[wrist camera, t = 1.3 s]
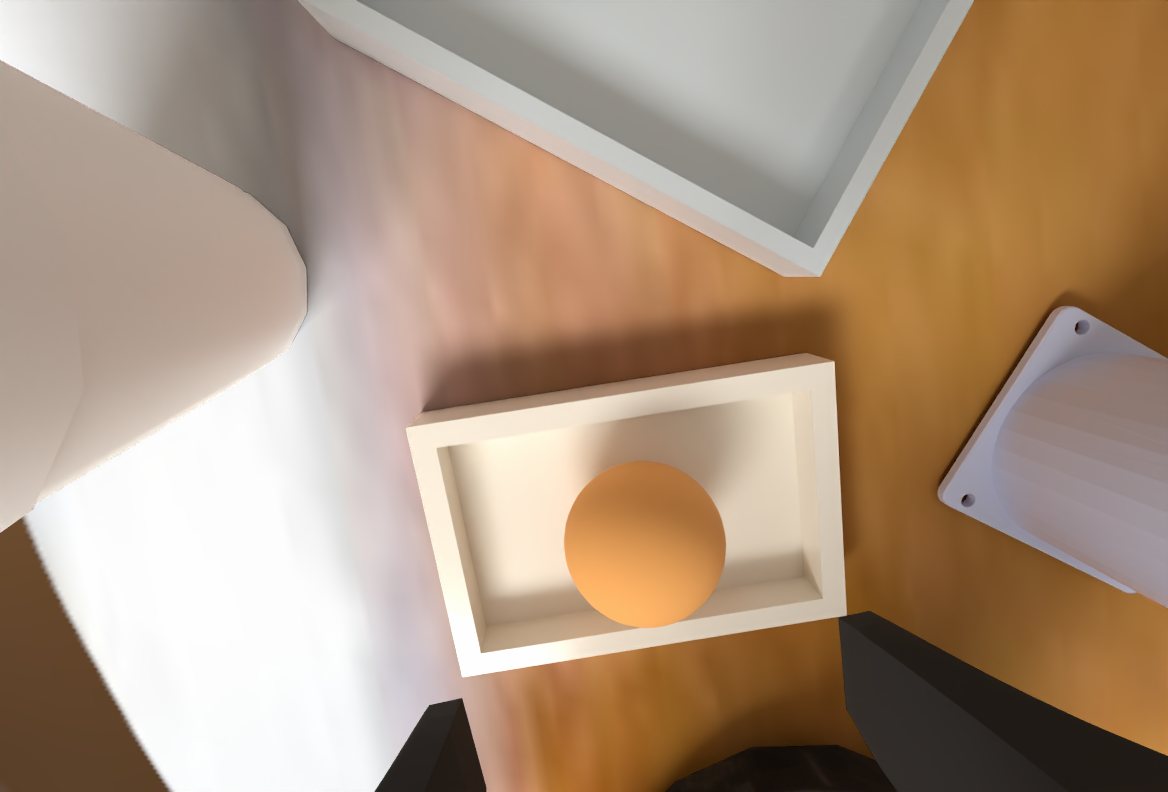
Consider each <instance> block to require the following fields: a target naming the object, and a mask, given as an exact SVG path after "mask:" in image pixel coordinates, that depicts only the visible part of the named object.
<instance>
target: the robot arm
mask: <svg viewBox="0 0 1168 792" xmlns="http://www.w3.org/2000/svg"><path fill="white" fill-rule="evenodd" d="M1078 322H1079V327H1078V330H1077V331H1076V332H1075V325H1076V324H1077V323H1078ZM966 494H967V495H968V496H967V498H966V500H965V501H964V502H961V500H962V497H963V496H964V495H966ZM938 498H939V500H940V501H941V502H943V503H944V504H946V505H948V506H950V507H952V508H954V509H956V510H958V511H960V512H962V513H964V514H966V515H968V516H970V517H972V518H974V519H976V520H978V521H980V522H982V523H984V524H986V525H989V526H991V527H993V528H995V529H997V530H999V531H1001V532H1003V533H1005V534H1007V535H1009V536H1011V537H1013V538H1015V539H1017V540H1019V541H1021V542H1023V543H1025V544H1028V545H1030V546H1032V547H1034V548H1036V549H1038V550H1040V551H1042V552H1044V553H1046V554H1048V555H1050V556H1052V557H1054V558H1056V559H1058V560H1060V561H1062V562H1064V563H1067V564H1069V565H1071V566H1073V567H1075V568H1077V569H1079V570H1081V571H1083V572H1085V573H1087V574H1089V575H1091V576H1093V577H1095V578H1097V579H1099V580H1101V581H1103V582H1106V583H1108V584H1110V585H1112V586H1114V587H1116V588H1118V589H1120V590H1122V591H1124V592H1126V593H1130V594H1131V593H1137V592H1138V593H1140V594H1142V595H1143V596H1145V597H1147V598H1149V599H1151V600H1153V601H1154V602H1156V603H1158V604H1160V605H1162V606H1164V607H1166V608H1167V609H1168V358H1166V357H1164V356H1162V355H1160V354H1159V353H1157V352H1155V351H1153V350H1152V349H1150V348H1148V347H1146V346H1145V345H1143V344H1141V343H1139V342H1138V341H1136V340H1134V339H1132V338H1131V337H1129V336H1127V335H1125V334H1124V333H1122V332H1120V331H1118V330H1117V329H1115V328H1113V327H1111V326H1109V325H1108V324H1106V323H1104V322H1102V321H1101V320H1099V319H1097V318H1095V317H1094V316H1092V315H1090V314H1088V313H1087V312H1085V311H1083V310H1081V309H1080V308H1078V307H1074V306H1060V307H1058V308H1056V309H1054V311H1053V312H1052V313H1051V314H1050V315H1049V317H1048V318H1047V320H1046V322H1045V323H1044V325H1043V326H1042V328H1041V329H1040V331H1039V332H1038V334H1037V336H1036V337H1035V339H1034V340H1033V342H1032V343H1031V345H1030V346H1029V348H1028V350H1027V351H1026V353H1025V354H1024V356H1023V357H1022V359H1021V360H1020V362H1019V364H1018V365H1017V367H1016V368H1015V370H1014V371H1013V373H1012V374H1011V376H1010V377H1009V379H1008V381H1007V382H1006V384H1005V385H1004V387H1003V388H1002V390H1001V391H1000V393H999V395H998V396H997V398H996V399H995V401H994V402H993V404H992V405H991V407H990V409H989V410H988V412H987V413H986V415H985V416H984V418H983V419H982V421H981V423H980V424H979V426H978V427H977V429H976V430H975V432H974V433H973V435H972V436H971V438H970V440H969V441H968V443H967V444H966V446H965V447H964V449H963V450H962V452H961V454H960V455H959V457H958V458H957V460H956V461H955V463H954V464H953V466H952V468H951V469H950V471H949V472H948V474H947V475H946V477H945V478H944V480H943V482H942V483H941V485H940V486H939V489H938ZM838 619H839V630H840V642H841V653H842V665H843V676H844V688H845V699H846V709H847V710H848V712H849V714H850V716H851V718H852V719H853V721H854V723H855V725H856V727H857V728H858V730H859V732H860V734H861V736H862V737H863V739H864V741H865V743H866V744H867V746H868V748H869V749H870V751H871V753H872V754H873V756H874V758H875V760H876V761H877V763H878V765H879V766H880V768H881V769H882V770H883V772H884V773H885V775H886V776H887V778H888V779H889V780H890V782H891V783H892V785H893V786H894V787H895V789H896V790H897V792H1168V756H1166V755H1164V754H1161V753H1159V752H1157V751H1154V750H1152V749H1149V748H1147V747H1144V746H1142V745H1140V744H1137V743H1135V742H1132V741H1130V740H1128V739H1125V738H1123V737H1120V736H1118V735H1116V734H1113V733H1111V732H1108V731H1106V730H1104V729H1101V728H1099V727H1097V726H1094V725H1092V724H1090V723H1088V722H1085V721H1083V720H1081V719H1079V718H1077V717H1074V716H1072V715H1070V714H1068V713H1066V712H1064V711H1062V710H1059V709H1057V708H1055V707H1053V706H1051V705H1049V704H1047V703H1045V702H1043V701H1041V700H1038V699H1036V698H1034V697H1032V696H1030V695H1028V694H1026V693H1024V692H1022V691H1020V690H1018V689H1016V688H1014V687H1012V686H1010V685H1008V684H1006V683H1004V682H1002V681H1000V680H998V679H996V678H994V677H992V676H990V675H988V674H986V673H984V672H982V671H980V670H979V669H977V668H975V667H973V666H971V665H969V664H967V663H965V662H963V661H962V660H960V659H958V658H956V657H954V656H952V655H950V654H949V653H947V652H945V651H943V650H941V649H939V648H937V647H936V646H934V645H932V644H930V643H928V642H927V641H925V640H923V639H921V638H919V637H917V636H916V635H914V634H912V633H910V632H908V631H906V630H905V629H903V628H901V627H899V626H897V625H895V624H894V623H892V622H890V621H888V620H886V619H884V618H882V617H880V616H878V615H876V614H874V613H873V612H870V611H867V612H862V613H858V614H853V615H848V616H844V617H839V618H838ZM375 792H486V785H485V781H484V777H483V774H482V770H481V766H480V762H479V759H478V755H477V751H476V748H475V744H474V740H473V737H472V733H471V729H470V726H469V722H468V718H467V714H466V711H465V707H464V703H463V700H462V698H461V699H456V700H451V701H447V702H442V703H437V704H433V705H429V707H428V708H427V709H426V711H425V712H424V714H423V716H422V717H421V719H420V720H419V722H418V723H417V725H416V727H415V728H414V730H413V731H412V733H411V735H410V736H409V738H408V740H407V741H406V743H405V744H404V746H403V748H402V749H401V751H400V753H399V754H398V756H397V757H396V759H395V761H394V762H393V764H392V765H391V767H390V768H389V770H388V772H387V773H386V775H385V776H384V778H383V780H382V781H381V783H380V784H379V786H378V787H377V789H376V790H375Z"/></svg>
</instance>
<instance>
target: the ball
mask: <svg viewBox="0 0 1168 792" xmlns="http://www.w3.org/2000/svg"><path fill="white" fill-rule="evenodd" d="M564 551H565V557H566V563H567V566H568V570H569V573H570V575H571V577H572V579H573V581H574V583H575V585H576V587H577V589H578V590H579V592H580V593H581V594H582V596H583V597H584V598H585V599H586V600H587V601H588V603H589V604H590V605H591V606H593V607H594V608H595V609H596V610H597V611H599V612H600V613H602V614H603V615H605V616H606V617H608V618H610V619H612V620H614V621H616V622H618V623H621V624H624V625H628V626H633V627H641V628H656V627H662V626H667V625H670V624H673V623H676V622H678V621H681V620H683V619H684V618H686V617H688V616H689V615H691V614H692V613H694V612H695V611H696V610H697V609H698V608H700V607H701V606H702V605H703V604H704V603H705V602H706V601H707V599H708V598H709V597H710V596H711V594H712V593H713V591H714V590H715V588H716V586H717V584H718V582H719V579H720V577H721V574H722V571H723V568H724V563H725V556H726V537H725V531H724V527H723V522H722V519H721V516H720V514H719V511H718V509H717V507H716V506H715V504H714V502H713V500H712V498H711V497H710V496H709V495H708V493H707V492H706V491H705V490H704V489H703V487H702V486H701V485H700V484H699V483H697V482H696V481H695V480H694V479H693V478H691V477H690V476H689V475H687V474H686V473H684V472H682V471H680V470H678V469H676V468H674V467H672V466H669V465H666V464H662V463H658V462H650V461H635V462H628V463H624V464H620V465H617V466H614V467H612V468H609V469H607V470H606V471H604V472H602V473H601V474H599V475H598V476H596V477H595V478H594V479H592V480H591V481H590V482H589V483H588V484H587V485H586V486H585V487H584V488H583V490H582V491H581V492H580V493H579V495H578V496H577V498H576V500H575V501H574V503H573V505H572V508H571V510H570V512H569V515H568V518H567V522H566V526H565V534H564Z"/></svg>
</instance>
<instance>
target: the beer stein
mask: <svg viewBox="0 0 1168 792" xmlns="http://www.w3.org/2000/svg"><path fill="white" fill-rule="evenodd" d="M666 792H897V790H896V789H895V787H894V786H893V785H892V783H891V782H890V780H889V779H888V778H887V776H886V775H885V773H884V772H883V770H882V769H881V768H880V766H879V765H878V763H877V761H875V760H873V759H870V758H868V757H865V756H863V755H860V754H858V753H855V752H853V751H850V750H848V749H846V748H843V747H841V746H838V745H823V746H785V747H752V748H750V749H747V750H745V751H743V752H741V753H738V754H736V755H734V756H732V757H729V758H727V759H725V760H723V761H720V762H718V763H716V764H714V765H711V766H709V767H707V768H705V769H702V770H700V771H698V772H696V773H693V774H691V775H689V776H687V777H684V778H682V779H680V780H678V781H676V782H675V783H674V784H673V785H672V786H671V787H670V788H669V789H668V790H667V791H666Z"/></svg>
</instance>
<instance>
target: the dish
mask: <svg viewBox="0 0 1168 792" xmlns="http://www.w3.org/2000/svg"><path fill="white" fill-rule="evenodd" d="M406 432H407V437H408V441H409V445H410V450H411V454H412V459H413V463H414V467H415V472H416V476H417V480H418V485H419V489H420V494H421V498H422V502H423V507H424V511H425V516H426V520H427V524H428V529H429V533H430V537H431V542H432V546H433V551H434V555H435V559H436V564H437V568H438V573H439V577H440V581H441V586H442V590H443V594H444V599H445V603H446V608H447V612H448V616H449V621H450V625H451V630H452V634H453V638H454V643H455V647H456V651H457V656H458V660H459V665H460V669H461V673H462V677H467V676H473V675H479V674H486V673H492V672H498V671H504V670H510V669H517V668H523V667H529V666H535V665H542V664H548V663H554V662H560V661H566V660H573V659H579V658H585V657H591V656H597V655H604V654H610V653H616V652H622V651H629V650H635V649H641V648H647V647H653V646H660V645H666V644H672V643H678V642H685V641H691V640H697V639H703V638H709V637H716V636H722V635H728V634H734V633H740V632H747V631H753V630H759V629H765V628H772V627H778V626H784V625H790V624H796V623H803V622H809V621H815V620H821V619H828V618H834V617H840V616H846V615H847V609H846V589H845V568H844V548H843V527H842V507H841V486H840V466H839V445H838V425H837V404H836V384H835V363H834V361H832V360H829V359H825V358H822V357H819V356H815V355H812V354H809V353H801V354H795V355H788V356H782V357H775V358H769V359H762V360H756V361H750V362H743V363H737V364H730V365H724V366H717V367H711V368H704V369H698V370H691V371H685V372H678V373H672V374H665V375H659V376H652V377H646V378H640V379H633V380H627V381H620V382H614V383H607V384H601V385H594V386H588V387H581V388H575V389H568V390H562V391H555V392H549V393H543V394H536V395H530V396H523V397H517V398H510V399H504V400H497V401H491V402H484V403H478V404H471V405H465V406H458V407H452V408H445V409H439V410H433V411H426V412H421V413H420V414H419V415H418V416H417V417H416V418H415V419H414V420H413V421H412V422H411V423H410V424H409V425H408V426H407V427H406ZM635 461H650V462H658V463H662V464H666V465H669V466H672V467H674V468H676V469H678V470H680V471H682V472H684V473H686V474H687V475H689V476H690V477H691V478H693V479H694V480H695V481H696V482H697V483H699V484H700V485H701V486H702V487H703V489H704V490H705V491H706V492H707V493H708V495H709V496H710V497H711V498H712V500H713V502H714V504H715V506H716V507H717V509H718V511H719V514H720V516H721V519H722V522H723V527H724V531H725V537H726V556H725V563H724V568H723V571H722V574H721V577H720V579H719V582H718V584H717V586H716V588H715V590H714V591H713V593H712V594H711V596H710V597H709V598H708V599H707V601H706V602H705V603H704V604H703V605H702V606H701V607H700V608H698V609H697V610H696V611H695V612H694V613H692V614H691V615H689V616H688V617H686V618H684V619H683V620H681V621H678V622H676V623H673V624H670V625H667V626H662V627H656V628H641V627H633V626H628V625H624V624H621V623H618V622H616V621H614V620H612V619H610V618H608V617H606V616H605V615H603V614H602V613H600V612H599V611H597V610H596V609H595V608H594V607H593V606H591V605H590V604H589V603H588V601H587V600H586V599H585V598H584V597H583V596H582V594H581V593H580V592H579V590H578V589H577V587H576V585H575V583H574V581H573V579H572V577H571V575H570V573H569V570H568V566H567V563H566V557H565V551H564V534H565V526H566V522H567V518H568V515H569V512H570V510H571V508H572V505H573V503H574V501H575V500H576V498H577V496H578V495H579V493H580V492H581V491H582V490H583V488H584V487H585V486H586V485H587V484H588V483H589V482H590V481H591V480H592V479H594V478H595V477H596V476H598V475H599V474H601V473H602V472H604V471H606V470H607V469H609V468H612V467H614V466H617V465H620V464H624V463H628V462H635Z"/></svg>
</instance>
